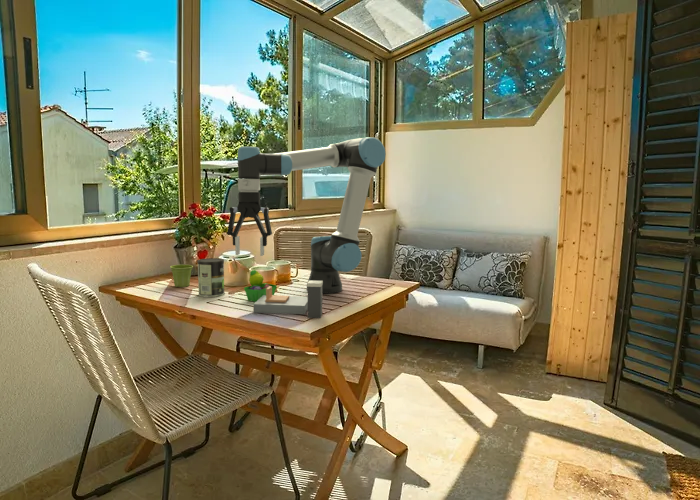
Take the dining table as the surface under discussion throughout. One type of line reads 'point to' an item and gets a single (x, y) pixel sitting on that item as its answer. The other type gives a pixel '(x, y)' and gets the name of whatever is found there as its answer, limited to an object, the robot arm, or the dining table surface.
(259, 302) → the socket
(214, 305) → the dining table surface
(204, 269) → the coffee can
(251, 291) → the fruit basket
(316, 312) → the plug
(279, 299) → the tan plate with tab
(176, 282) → the plant pot
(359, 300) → the dining table surface
